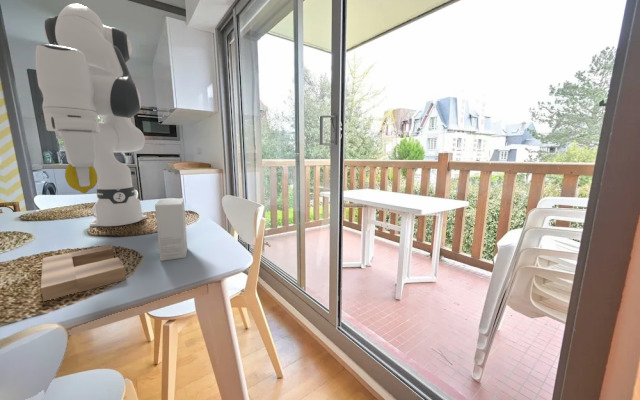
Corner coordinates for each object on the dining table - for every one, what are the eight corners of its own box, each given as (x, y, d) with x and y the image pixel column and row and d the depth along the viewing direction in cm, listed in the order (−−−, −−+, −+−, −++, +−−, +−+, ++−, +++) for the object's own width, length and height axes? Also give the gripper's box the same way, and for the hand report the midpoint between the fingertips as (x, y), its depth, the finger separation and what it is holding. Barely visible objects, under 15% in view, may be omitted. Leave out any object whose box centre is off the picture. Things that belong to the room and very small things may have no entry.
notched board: (45, 269, 64) (42, 257, 63) (111, 254, 73) (110, 244, 72) (43, 302, 50) (40, 288, 49) (126, 279, 59) (124, 267, 59)
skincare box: (164, 250, 76) (158, 199, 73) (189, 247, 79) (184, 197, 76) (159, 261, 68) (153, 204, 66) (187, 258, 71) (182, 202, 68)
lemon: (81, 195, 58) (74, 159, 56) (61, 195, 59) (55, 159, 58) (105, 192, 63) (100, 159, 62) (87, 191, 64) (82, 159, 63)
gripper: (53, 125, 63) (63, 181, 66) (54, 119, 49) (66, 190, 52) (87, 127, 67) (95, 180, 70) (97, 121, 53) (107, 187, 56)
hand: (83, 184), depth 61 cm, fingers closed on lemon, 5 cm apart
